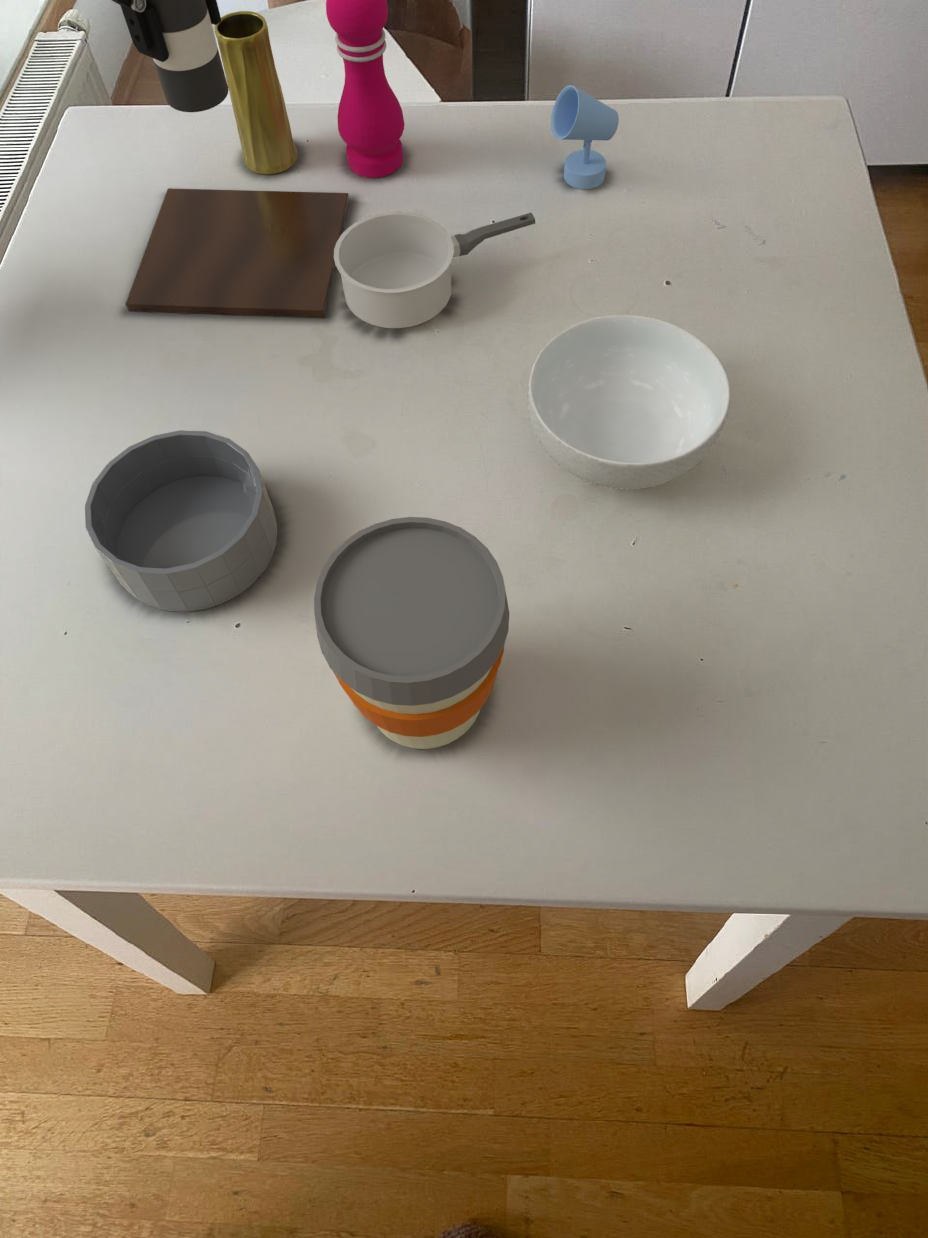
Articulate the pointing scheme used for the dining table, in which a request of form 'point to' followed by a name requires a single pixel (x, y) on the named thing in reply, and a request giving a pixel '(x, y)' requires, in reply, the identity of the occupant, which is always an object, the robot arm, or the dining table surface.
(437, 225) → the saucepan
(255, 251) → the board
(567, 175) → the spotlight
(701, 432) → the cereal bowl
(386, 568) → the reusable coffee cup
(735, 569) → the dining table surface
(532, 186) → the dining table surface
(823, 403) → the dining table surface
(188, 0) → the dark grey banded canister
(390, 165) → the pepper mill
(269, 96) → the vase
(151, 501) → the grey pet bowl
